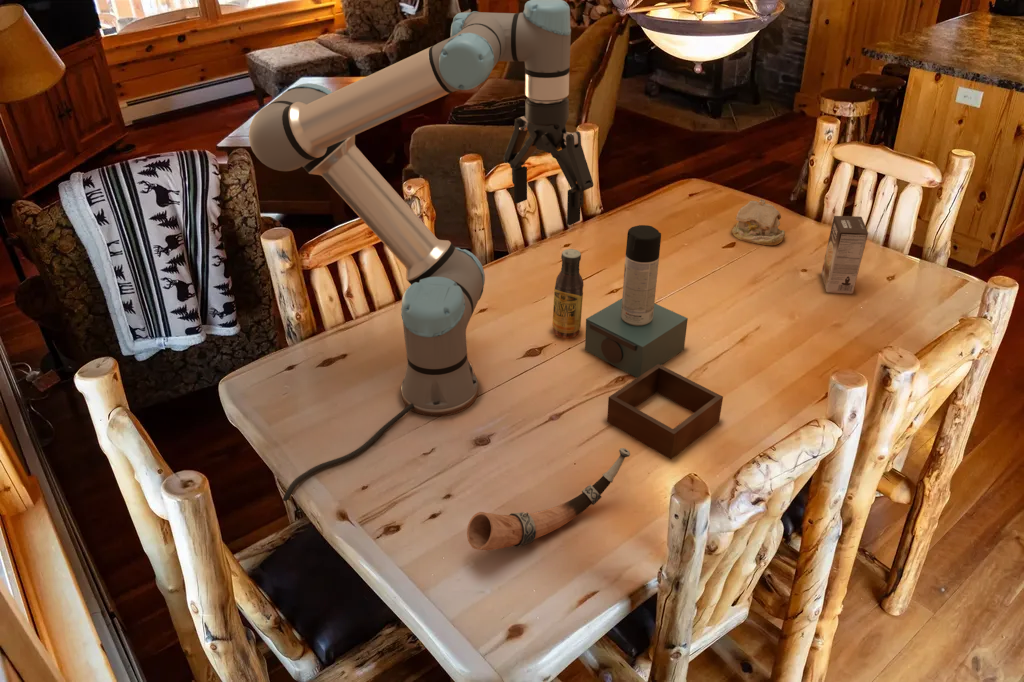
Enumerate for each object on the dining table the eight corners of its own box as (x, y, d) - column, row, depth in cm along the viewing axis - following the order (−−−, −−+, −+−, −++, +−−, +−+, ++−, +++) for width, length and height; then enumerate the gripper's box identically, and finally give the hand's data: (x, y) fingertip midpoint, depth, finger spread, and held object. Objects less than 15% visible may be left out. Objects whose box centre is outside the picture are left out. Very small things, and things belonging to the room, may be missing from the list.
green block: (638, 380, 163) (641, 348, 159) (583, 351, 172) (584, 319, 168) (684, 349, 172) (687, 318, 167) (629, 323, 181) (631, 292, 176)
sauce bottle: (547, 335, 177) (548, 255, 166) (559, 322, 182) (561, 243, 171) (574, 342, 175) (577, 262, 164) (586, 328, 179) (589, 249, 168)
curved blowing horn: (463, 553, 126) (459, 507, 121) (615, 481, 139) (618, 437, 133) (480, 577, 122) (478, 531, 117) (635, 501, 135) (640, 457, 129)
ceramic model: (723, 235, 217) (728, 200, 211) (742, 220, 224) (748, 187, 218) (772, 249, 209) (779, 214, 203) (791, 234, 216) (797, 200, 210)
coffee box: (819, 274, 198) (833, 214, 189) (847, 275, 197) (861, 215, 188) (826, 293, 190) (840, 231, 181) (854, 294, 189) (869, 233, 181)
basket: (671, 459, 143) (674, 434, 140) (606, 421, 152) (608, 396, 149) (719, 421, 152) (723, 396, 148) (655, 387, 161) (658, 363, 158)
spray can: (643, 307, 171) (650, 221, 160) (659, 323, 166) (667, 235, 155) (615, 313, 169) (620, 227, 158) (630, 329, 164) (637, 241, 153)
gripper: (617, 107, 132) (611, 225, 144) (512, 78, 147) (514, 187, 159) (587, 118, 128) (583, 239, 139) (481, 87, 143) (486, 198, 155)
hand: (546, 211), depth 149 cm, fingers open, 13 cm apart
